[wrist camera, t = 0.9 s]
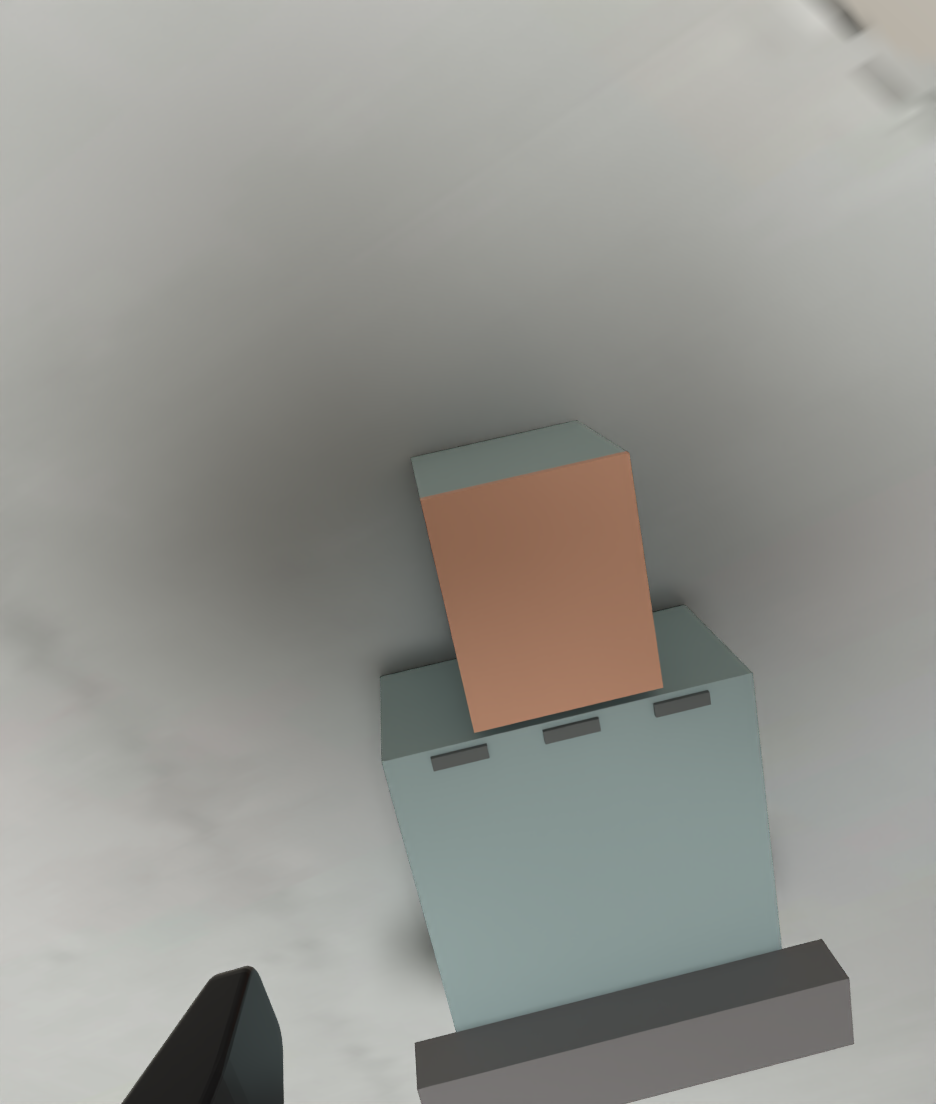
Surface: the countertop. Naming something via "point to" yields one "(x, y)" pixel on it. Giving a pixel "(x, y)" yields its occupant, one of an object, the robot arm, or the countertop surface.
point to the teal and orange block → (540, 572)
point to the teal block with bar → (602, 888)
